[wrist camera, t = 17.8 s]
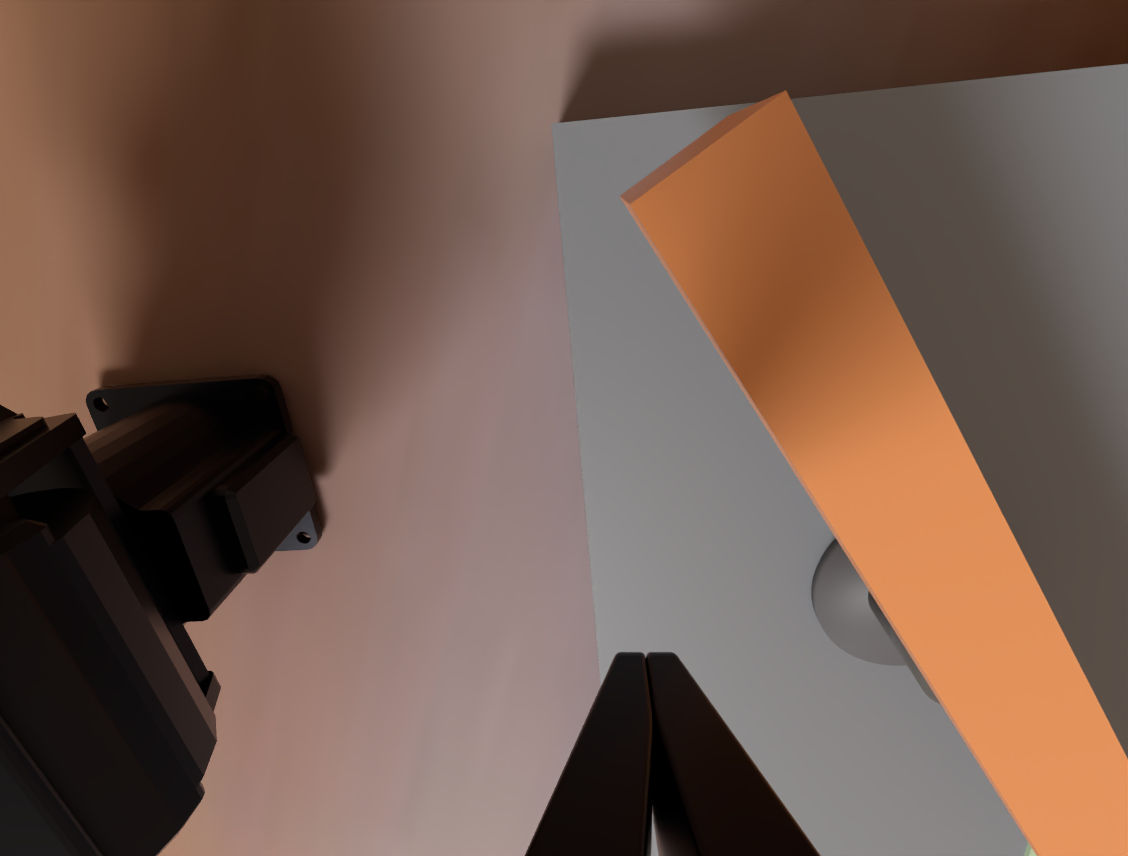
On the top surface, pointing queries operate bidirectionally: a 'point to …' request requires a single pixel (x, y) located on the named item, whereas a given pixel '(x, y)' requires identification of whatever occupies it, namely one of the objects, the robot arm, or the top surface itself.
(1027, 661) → the handle
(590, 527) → the panel
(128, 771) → the robot arm
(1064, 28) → the top surface
